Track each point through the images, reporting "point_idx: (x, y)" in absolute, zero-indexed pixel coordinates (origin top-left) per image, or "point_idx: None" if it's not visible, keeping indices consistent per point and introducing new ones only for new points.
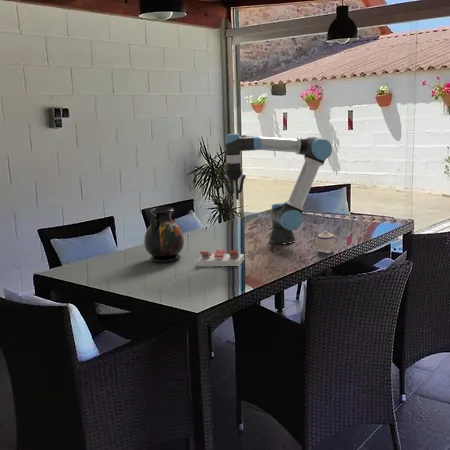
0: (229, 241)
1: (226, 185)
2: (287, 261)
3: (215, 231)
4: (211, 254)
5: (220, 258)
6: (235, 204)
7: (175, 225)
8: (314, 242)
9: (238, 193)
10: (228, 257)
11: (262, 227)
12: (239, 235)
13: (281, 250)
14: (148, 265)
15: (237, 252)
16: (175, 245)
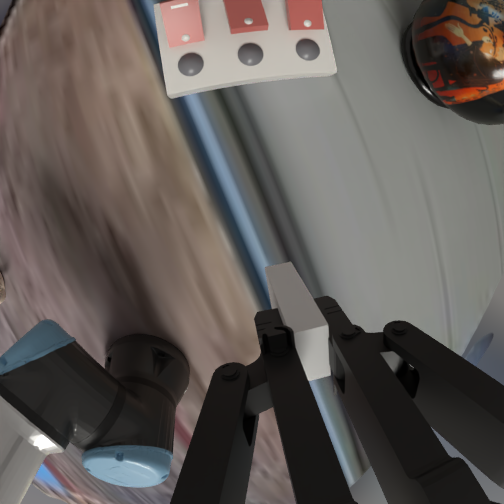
0: None
1: (479, 376)
2: (27, 134)
3: None
4: (302, 63)
5: None
6: (275, 271)
7: (488, 30)
8: (3, 299)
9: (257, 360)
10: (213, 35)
11: (277, 464)
12: (316, 398)
13: (94, 265)
14: None
15: (162, 14)
16: (423, 4)
